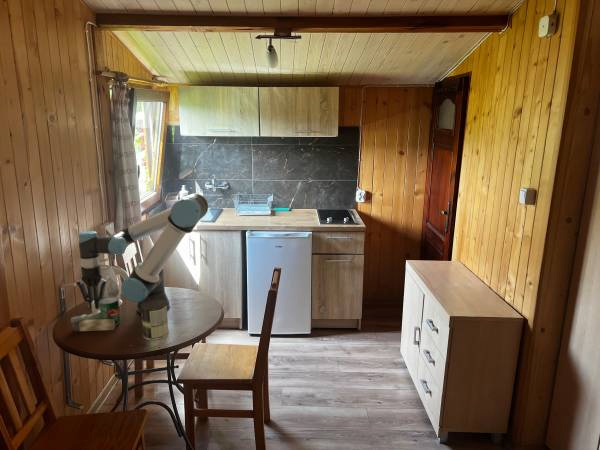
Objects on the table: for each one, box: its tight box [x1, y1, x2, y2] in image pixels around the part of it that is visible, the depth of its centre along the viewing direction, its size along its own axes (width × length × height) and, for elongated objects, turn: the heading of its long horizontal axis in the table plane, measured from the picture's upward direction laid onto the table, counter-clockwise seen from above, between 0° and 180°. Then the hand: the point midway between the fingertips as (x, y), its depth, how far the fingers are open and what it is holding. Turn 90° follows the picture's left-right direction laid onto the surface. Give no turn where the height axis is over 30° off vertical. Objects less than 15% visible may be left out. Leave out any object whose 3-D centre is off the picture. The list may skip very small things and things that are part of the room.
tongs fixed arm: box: [71, 319, 116, 332], centre depth 188 cm, size 17×3×4 cm, turn 94°
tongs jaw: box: [70, 309, 101, 324], centre depth 193 cm, size 18×4×5 cm, turn 150°
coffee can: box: [140, 299, 169, 341], centre depth 182 cm, size 10×10×14 cm
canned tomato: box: [99, 296, 122, 326], centre depth 193 cm, size 8×8×11 cm
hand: (95, 315), depth 197 cm, fingers closed
